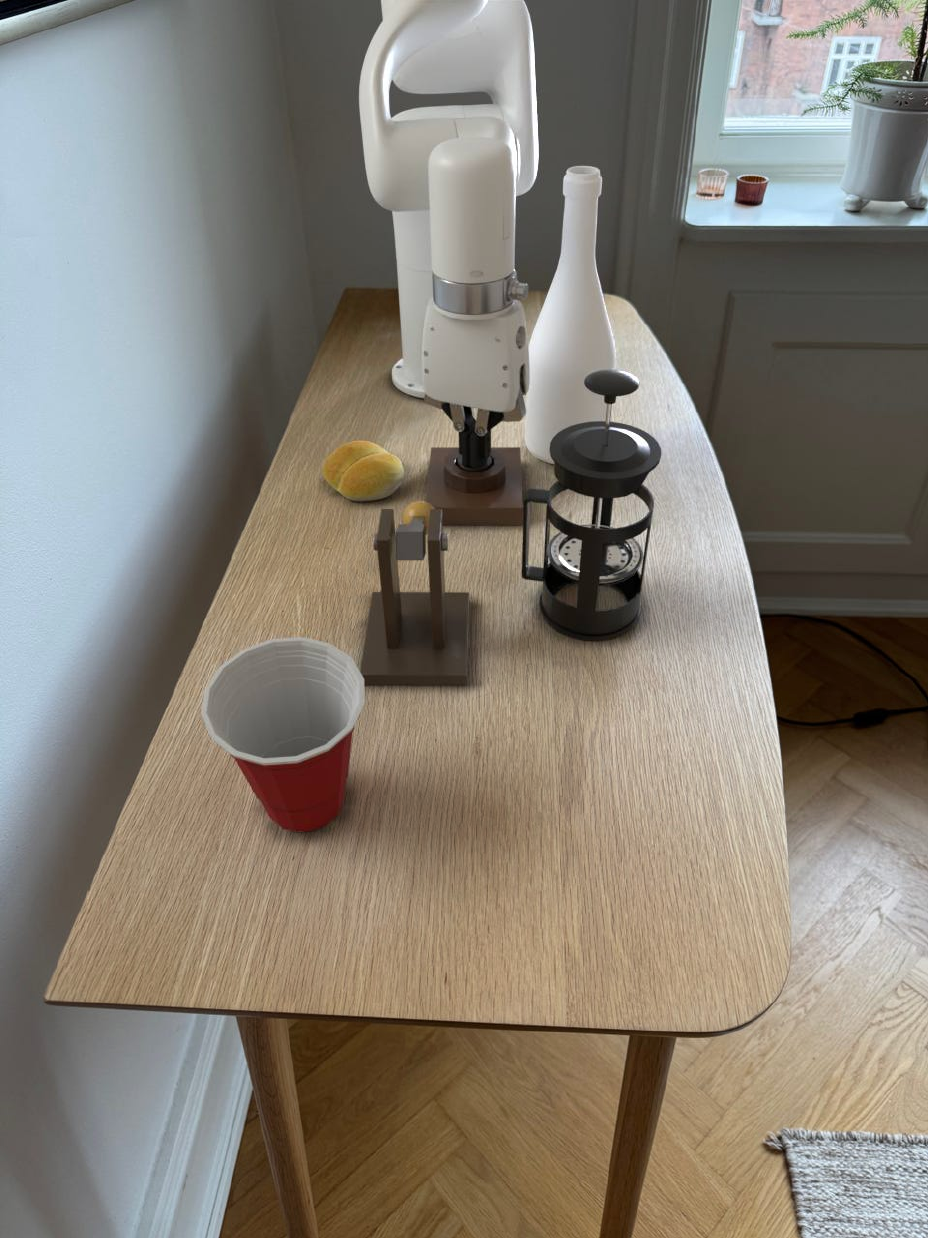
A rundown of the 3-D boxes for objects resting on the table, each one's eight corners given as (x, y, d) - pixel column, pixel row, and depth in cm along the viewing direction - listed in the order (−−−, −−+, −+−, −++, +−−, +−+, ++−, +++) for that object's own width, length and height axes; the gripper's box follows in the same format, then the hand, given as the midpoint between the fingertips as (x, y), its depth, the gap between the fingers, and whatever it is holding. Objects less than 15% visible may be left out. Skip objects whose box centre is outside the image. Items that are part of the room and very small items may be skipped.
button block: (431, 464, 104) (430, 432, 101) (519, 464, 104) (520, 432, 101) (426, 525, 95) (424, 492, 92) (522, 525, 95) (523, 493, 92)
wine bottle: (507, 447, 107) (512, 170, 87) (561, 418, 111) (578, 150, 92) (569, 478, 101) (589, 191, 82) (623, 447, 106) (654, 169, 86)
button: (458, 465, 99) (458, 451, 98) (491, 465, 99) (491, 451, 98) (457, 483, 97) (457, 469, 95) (491, 483, 96) (491, 469, 95)
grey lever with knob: (404, 531, 86) (404, 497, 85) (438, 531, 86) (438, 497, 85) (390, 565, 74) (389, 526, 73) (429, 565, 74) (429, 526, 73)
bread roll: (360, 513, 97) (357, 481, 94) (313, 479, 102) (309, 448, 99) (421, 484, 101) (419, 453, 98) (373, 453, 106) (370, 422, 103)
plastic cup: (240, 882, 63) (205, 772, 55) (226, 766, 71) (194, 654, 63) (393, 844, 66) (380, 732, 58) (363, 735, 73) (348, 623, 65)
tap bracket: (373, 601, 86) (361, 486, 77) (469, 602, 86) (467, 486, 77) (360, 685, 78) (345, 566, 69) (466, 685, 77) (464, 566, 69)
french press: (652, 583, 87) (686, 357, 72) (643, 649, 80) (680, 414, 65) (530, 567, 89) (539, 344, 74) (512, 630, 83) (518, 398, 67)
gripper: (563, 285, 85) (553, 458, 97) (418, 265, 89) (426, 432, 101) (535, 316, 80) (529, 494, 92) (382, 292, 84) (395, 465, 96)
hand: (475, 461), depth 96 cm, fingers closed
